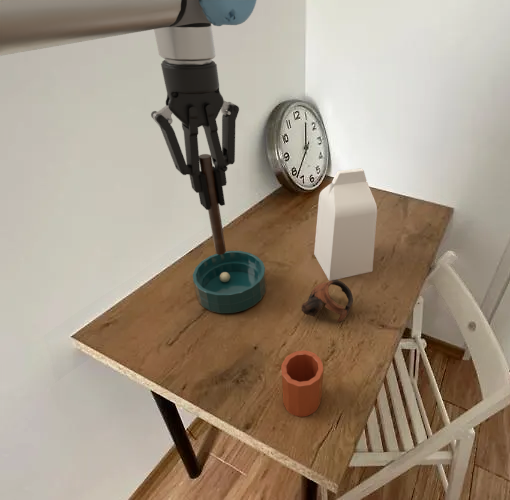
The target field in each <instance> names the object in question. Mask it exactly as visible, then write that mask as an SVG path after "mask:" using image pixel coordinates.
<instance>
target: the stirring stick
mask: <svg viewBox="0 0 510 500" xmlns="http://www.w3.org/2000/svg"><path fill="white" fill-rule="evenodd" d="M199 165H200V171H201V172H202V173H203V174H204V175H205V177H206V183H207V189H208V195H209V201H210V206H211V209H209V210H207V212H208V217H209V223H210V228H211V229H210V230H211V235H212V240H213V245H214V252H215V254H218V255H222V254H224V253H225V252H226V251H227V249H226V242H225V236H224V230H223V223H222V216H221V209H220V204H219V203H218V197H217V190H216V184H215V178H214V171H213V166H214V164H213V161H212V157H211V154H208V153H203V154H199Z"/></svg>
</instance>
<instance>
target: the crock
mask: <svg viewBox="0 0 510 500" xmlns="http://www.w3.org/2000/svg"><path fill="white" fill-rule="evenodd" d="M280 368H281V384H282V385H281V387H282V403H283V407H284V409H285V410H286V411H287V412H288V413H289V414H290V415H293V416H295V417H299V418H303V417H304V418H305V417H308V416H310V415H313V414H314V413H316V411H317V410H318V409H319V408H320V405H321V401H322V400H323V399H322V398H323V382H324V381H323V380H324V365H323V361H322V359H321V357H319V356H318V354H316V353H315V352H312V351H309V350H307V349H306V350H295V351H293V352H292V353H290V354H288V355H287V356H286V357H285V358H284V359H283V361H282V363H281V366H280Z"/></svg>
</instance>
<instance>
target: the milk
mask: <svg viewBox="0 0 510 500" xmlns="http://www.w3.org/2000/svg"><path fill="white" fill-rule="evenodd" d="M374 197H375V196H374V195H373V193H372V190H371V188H370V186H369V183H368V182H367V177H366V173H365V171H364V169H363V168H362V167H361V168H352V169H342V170H337V171H336V173H335V175H334V178H333V179H332V181H331V182H330V183H329V184H328V185H327V186H325V187H324V188H323V189H322V190H321V191H320V192H319V195H318V202H317V203H318V205H317V215H316V216H317V217H316V228H315V239H314V251H313V256H314V257H315V258H316V261H317V262H318V264H319V265H320V267H321V269H322V271H323V272H324V274H325V276H326V279H327V280H328V282H329V281H332V280H340V279H344V278H345V279H346V278H349V277H354V276H359V275H363V274H367V273H373V270H374V258H375V257H374V256H375V246H376V245H375V244H376V233H377V231H376V230H377V219H378V218H377V217H378V206H377V203H376V199H375V198H374Z"/></svg>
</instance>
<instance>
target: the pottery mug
mask: <svg viewBox="0 0 510 500" xmlns="http://www.w3.org/2000/svg"><path fill="white" fill-rule="evenodd" d="M331 285H333V286H337V287H339V288H340V289H341V292H343V293H344V295H345V296H346V298H347V304H346V305H345V307H344V305H341V304H338V303H336V301H334V299H332V297H331V295H330V291H329V289H330V288H329V287H330V286H331ZM324 304H325V305H324ZM353 304H354V297H353V293H352V291H351V289H350V288H349V286H347V284H346V283H344V282H343V281H341V280H340V279H336V280H331V281H329V280H328V281H325V282H324V281H323V282H321V283H319V284H317V285H316V286H315V287H314V288H313V289H312V291H311V292H310V295H309V296H308V299H307V300H306V301H304V302H302V304H301V311H302V313H303V314H304V315H306V316H310V317H312V318H315V317H316V316H317V314H318V313H319V312H321V311H322V310H323V307H324V308H327V309H328V310H330V311H331V312H333V313H335V314H337V315H339V317H338V318H337V322H338V323H340V322H342V321H343V320H344V319H346V317H347V316H348V315H349V313H350V310H351V308H352V305H353Z"/></svg>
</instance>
